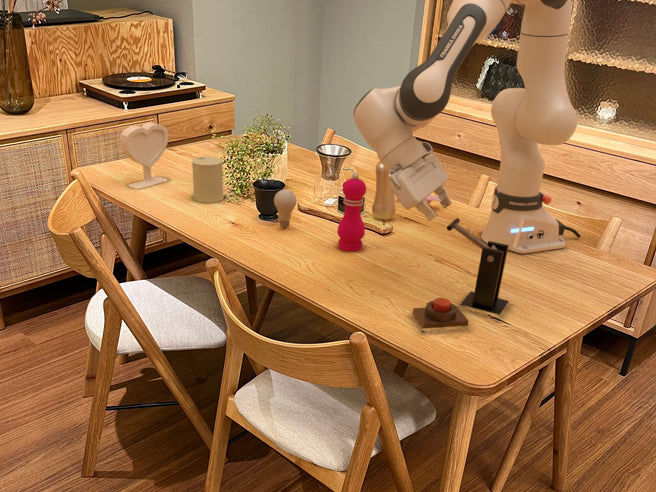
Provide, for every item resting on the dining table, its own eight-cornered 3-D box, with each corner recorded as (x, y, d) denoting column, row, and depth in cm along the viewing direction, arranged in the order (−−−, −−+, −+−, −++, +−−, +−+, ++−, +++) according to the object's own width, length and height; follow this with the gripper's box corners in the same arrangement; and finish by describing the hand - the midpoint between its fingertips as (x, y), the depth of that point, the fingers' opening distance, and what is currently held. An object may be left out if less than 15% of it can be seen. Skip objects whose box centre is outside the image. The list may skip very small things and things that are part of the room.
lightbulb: (278, 233, 192) (279, 194, 186) (270, 225, 197) (270, 187, 191) (298, 230, 194) (300, 192, 189) (290, 223, 199) (291, 185, 193)
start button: (446, 304, 152) (447, 297, 151) (452, 312, 149) (453, 304, 148) (430, 305, 151) (431, 298, 150) (436, 313, 148) (437, 305, 147)
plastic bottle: (388, 224, 201) (395, 154, 191) (367, 218, 204) (373, 150, 194) (398, 217, 206) (405, 149, 196) (377, 212, 209) (383, 145, 199)
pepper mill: (361, 254, 182) (368, 178, 172) (334, 250, 183) (339, 175, 173) (365, 243, 188) (371, 170, 178) (338, 240, 189) (343, 167, 179)
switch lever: (444, 230, 153) (449, 222, 151) (452, 223, 157) (458, 214, 155) (492, 266, 151) (499, 258, 149) (499, 257, 155) (506, 249, 153)
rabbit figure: (394, 206, 218) (439, 209, 210) (394, 187, 215) (439, 190, 207) (403, 201, 223) (448, 204, 214) (403, 182, 220) (448, 184, 212)
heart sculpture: (133, 190, 218) (127, 131, 209) (123, 186, 221) (117, 127, 212) (172, 179, 228) (168, 123, 219) (162, 176, 231) (158, 120, 222)
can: (210, 191, 220) (209, 152, 214) (229, 198, 215) (229, 159, 209) (187, 197, 215) (185, 158, 208) (206, 205, 209) (204, 165, 203)
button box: (454, 314, 155) (457, 298, 153) (466, 330, 150) (469, 313, 148) (411, 317, 154) (414, 301, 152) (422, 333, 148) (424, 316, 146)
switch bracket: (459, 309, 158) (469, 248, 150) (470, 295, 164) (480, 236, 156) (498, 319, 154) (511, 257, 147) (508, 305, 160) (521, 245, 153)
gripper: (397, 162, 143) (436, 218, 144) (432, 141, 158) (467, 191, 159) (375, 180, 147) (413, 234, 148) (411, 157, 162) (445, 206, 164)
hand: (441, 212), depth 154 cm, fingers open, 8 cm apart
